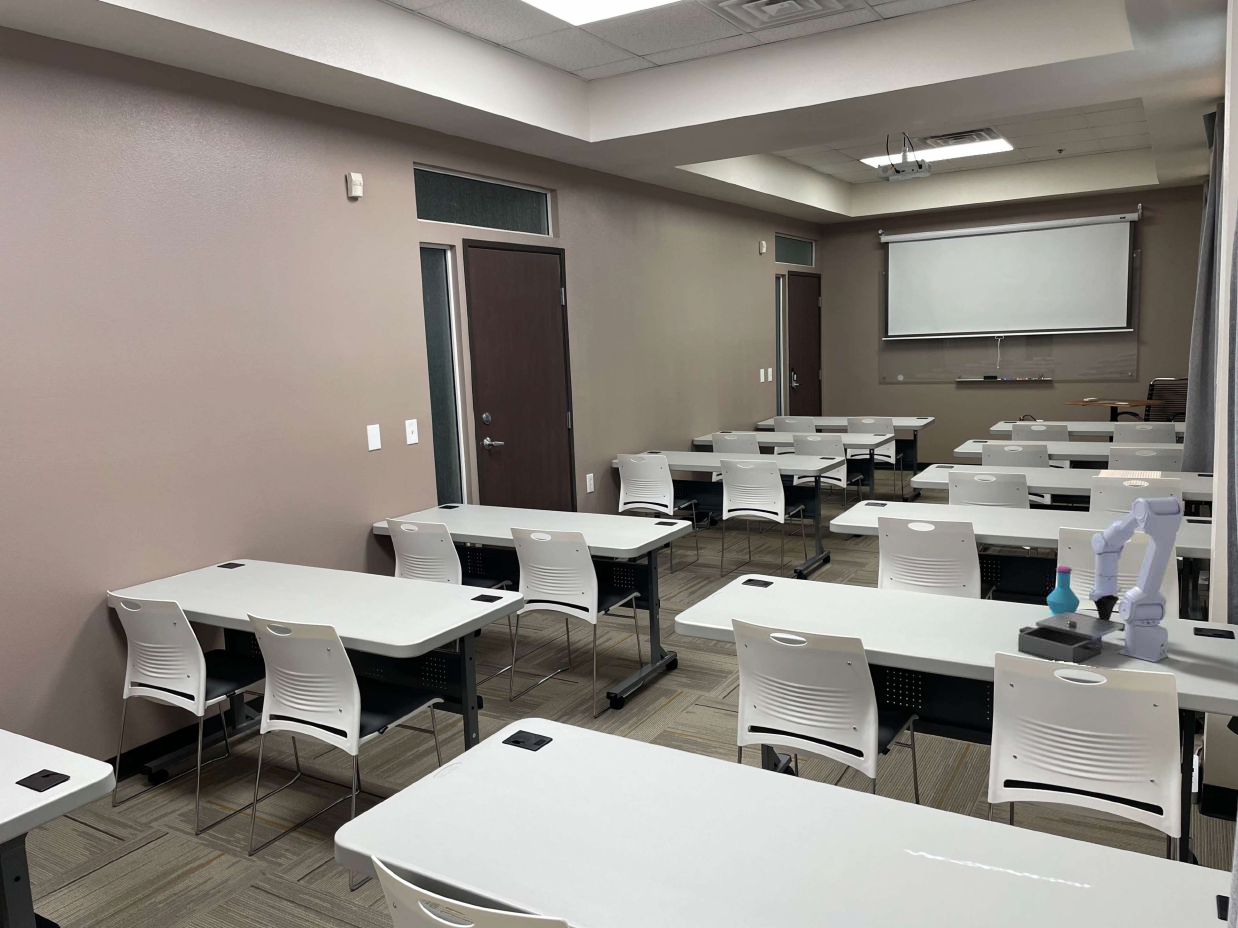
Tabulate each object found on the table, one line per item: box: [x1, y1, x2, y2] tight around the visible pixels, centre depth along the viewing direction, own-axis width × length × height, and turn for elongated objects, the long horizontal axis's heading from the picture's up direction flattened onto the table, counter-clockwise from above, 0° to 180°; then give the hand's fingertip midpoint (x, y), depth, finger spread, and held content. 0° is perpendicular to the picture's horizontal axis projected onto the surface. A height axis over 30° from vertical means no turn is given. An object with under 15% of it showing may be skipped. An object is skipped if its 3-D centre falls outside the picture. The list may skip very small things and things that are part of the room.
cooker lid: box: [1035, 611, 1126, 640], centre depth 241 cm, size 16×17×3 cm
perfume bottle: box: [1046, 565, 1081, 616], centre depth 270 cm, size 9×9×15 cm
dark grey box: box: [1017, 626, 1104, 664], centre depth 236 cm, size 21×15×5 cm
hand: (1104, 620), depth 249 cm, fingers closed
